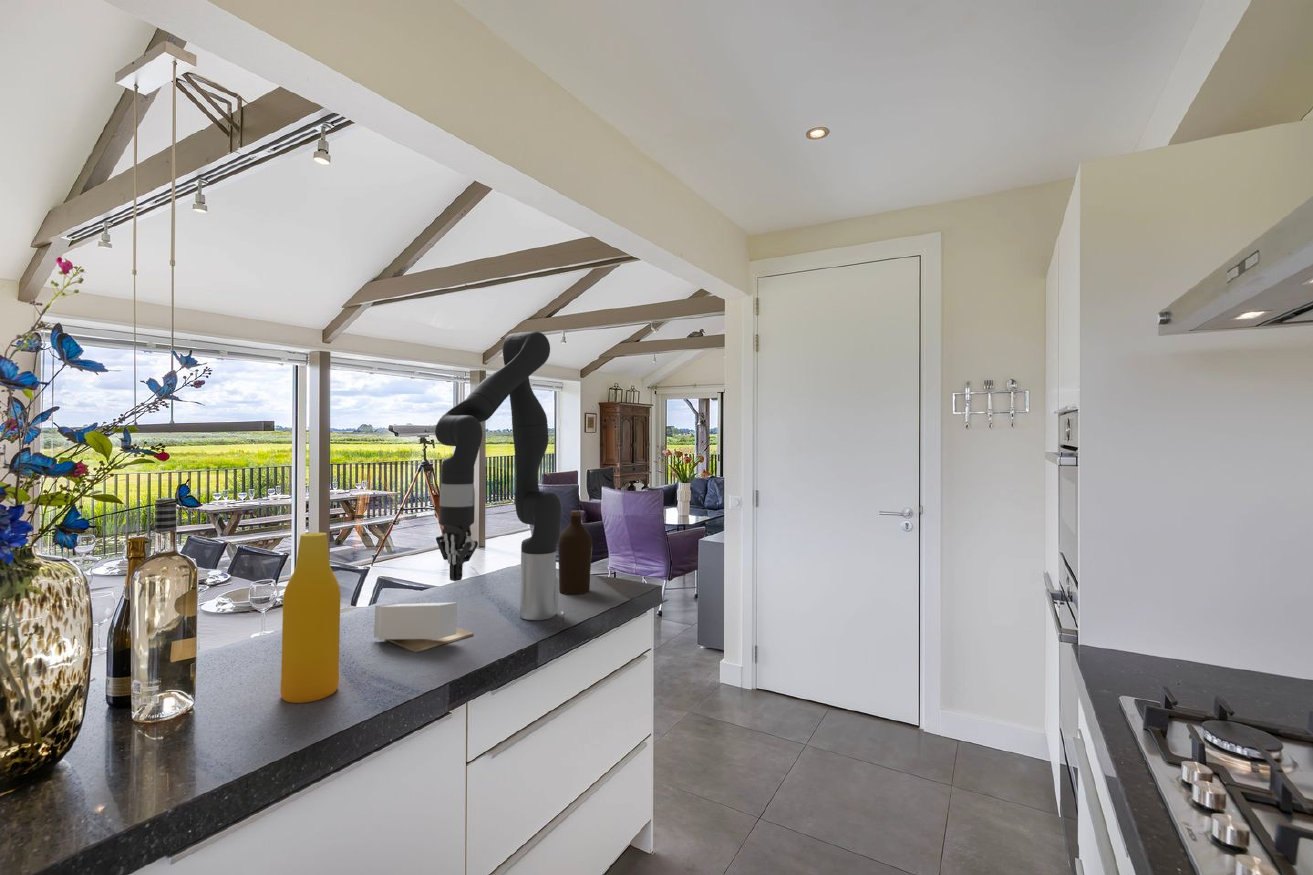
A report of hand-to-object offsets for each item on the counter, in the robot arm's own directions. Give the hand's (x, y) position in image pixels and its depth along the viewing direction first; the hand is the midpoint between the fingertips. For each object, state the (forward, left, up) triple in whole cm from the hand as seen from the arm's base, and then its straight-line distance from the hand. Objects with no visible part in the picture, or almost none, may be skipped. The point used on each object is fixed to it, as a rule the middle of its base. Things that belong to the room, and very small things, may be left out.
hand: (455, 580), depth 134 cm
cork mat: (0, -10, -15) cm, 18 cm away
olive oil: (-53, -15, -15) cm, 57 cm away
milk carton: (+1, 0, -9) cm, 9 cm away
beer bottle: (+31, +1, -15) cm, 35 cm away
